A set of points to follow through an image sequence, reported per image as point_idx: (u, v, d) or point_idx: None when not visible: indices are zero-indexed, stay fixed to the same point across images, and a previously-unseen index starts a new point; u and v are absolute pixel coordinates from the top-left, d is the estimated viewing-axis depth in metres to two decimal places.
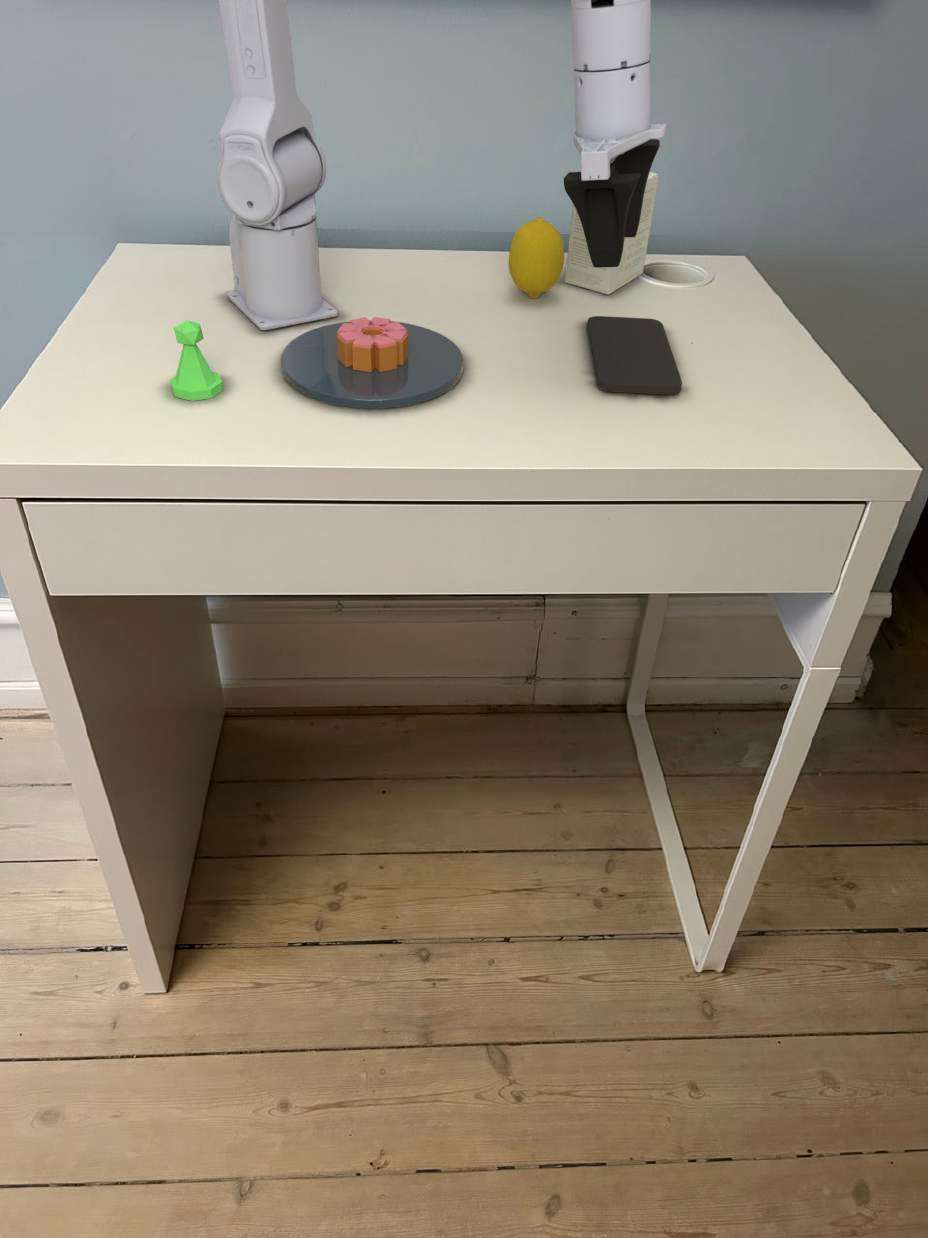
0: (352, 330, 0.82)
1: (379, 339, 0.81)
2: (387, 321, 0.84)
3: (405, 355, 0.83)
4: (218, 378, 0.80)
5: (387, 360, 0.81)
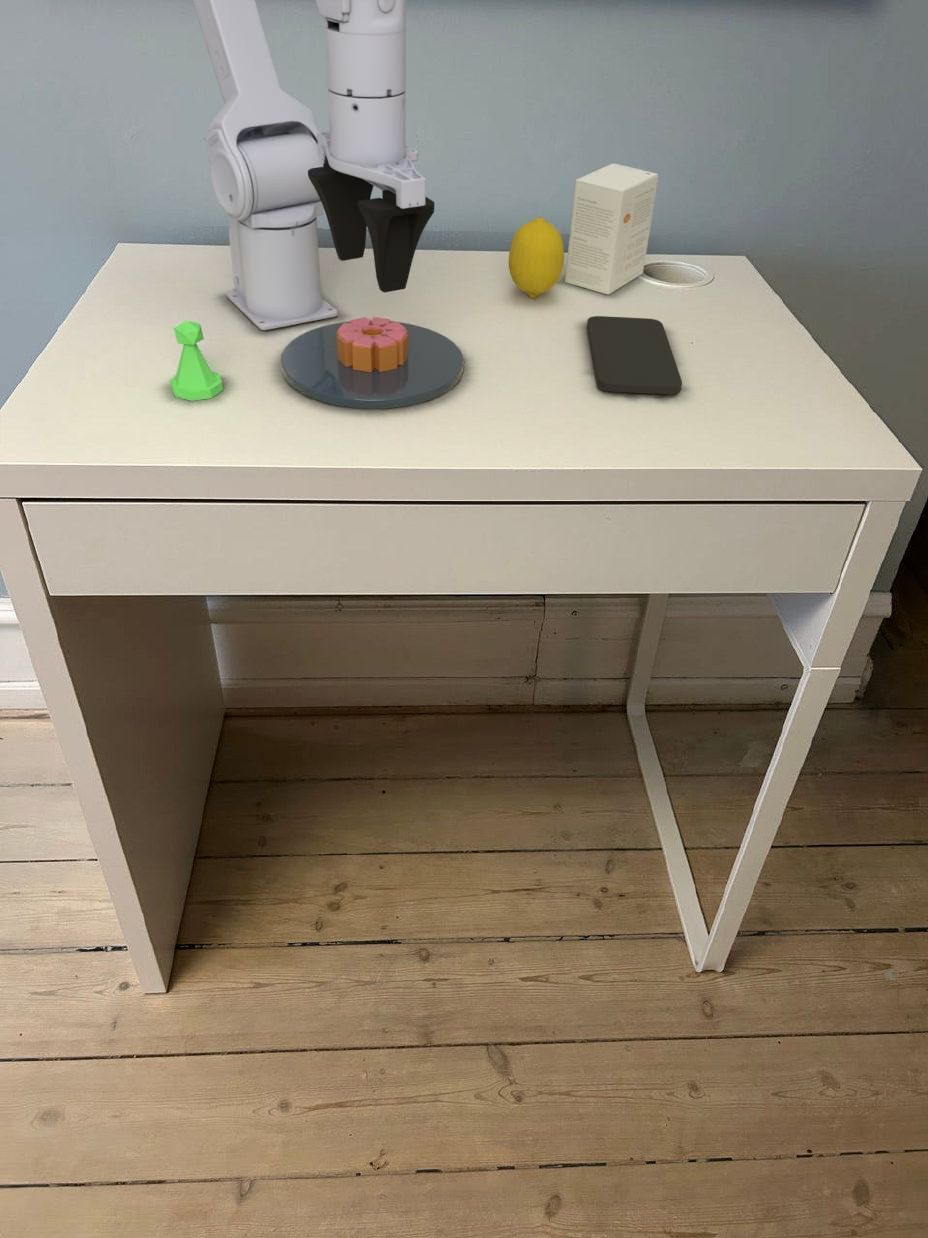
0: (352, 330, 0.82)
1: (379, 339, 0.81)
2: (387, 321, 0.84)
3: (405, 355, 0.83)
4: (218, 378, 0.80)
5: (387, 360, 0.81)
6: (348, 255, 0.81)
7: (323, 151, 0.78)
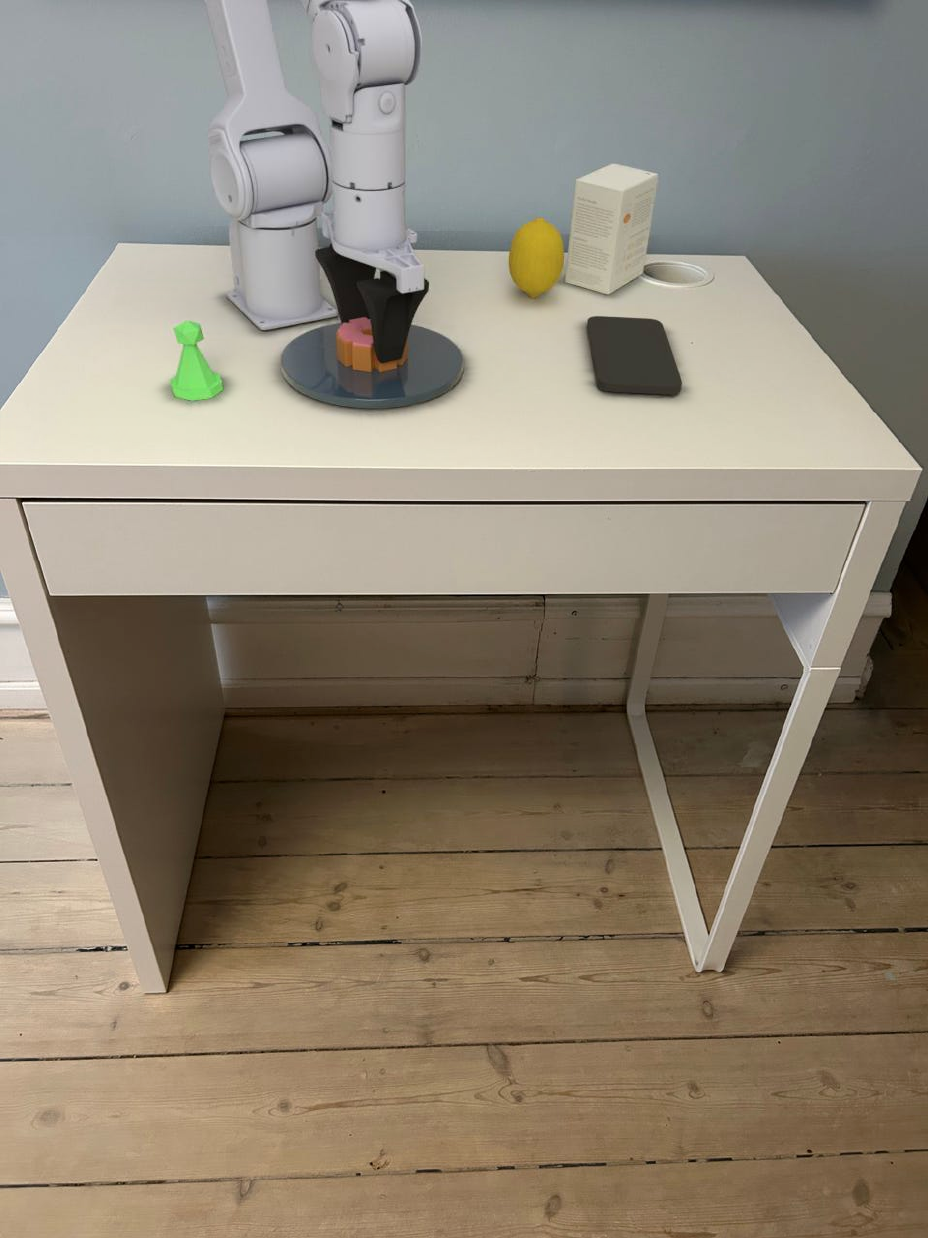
0: (352, 330, 0.82)
1: None
2: None
3: (405, 355, 0.83)
4: (218, 378, 0.80)
5: None
6: None
7: (327, 230, 0.82)
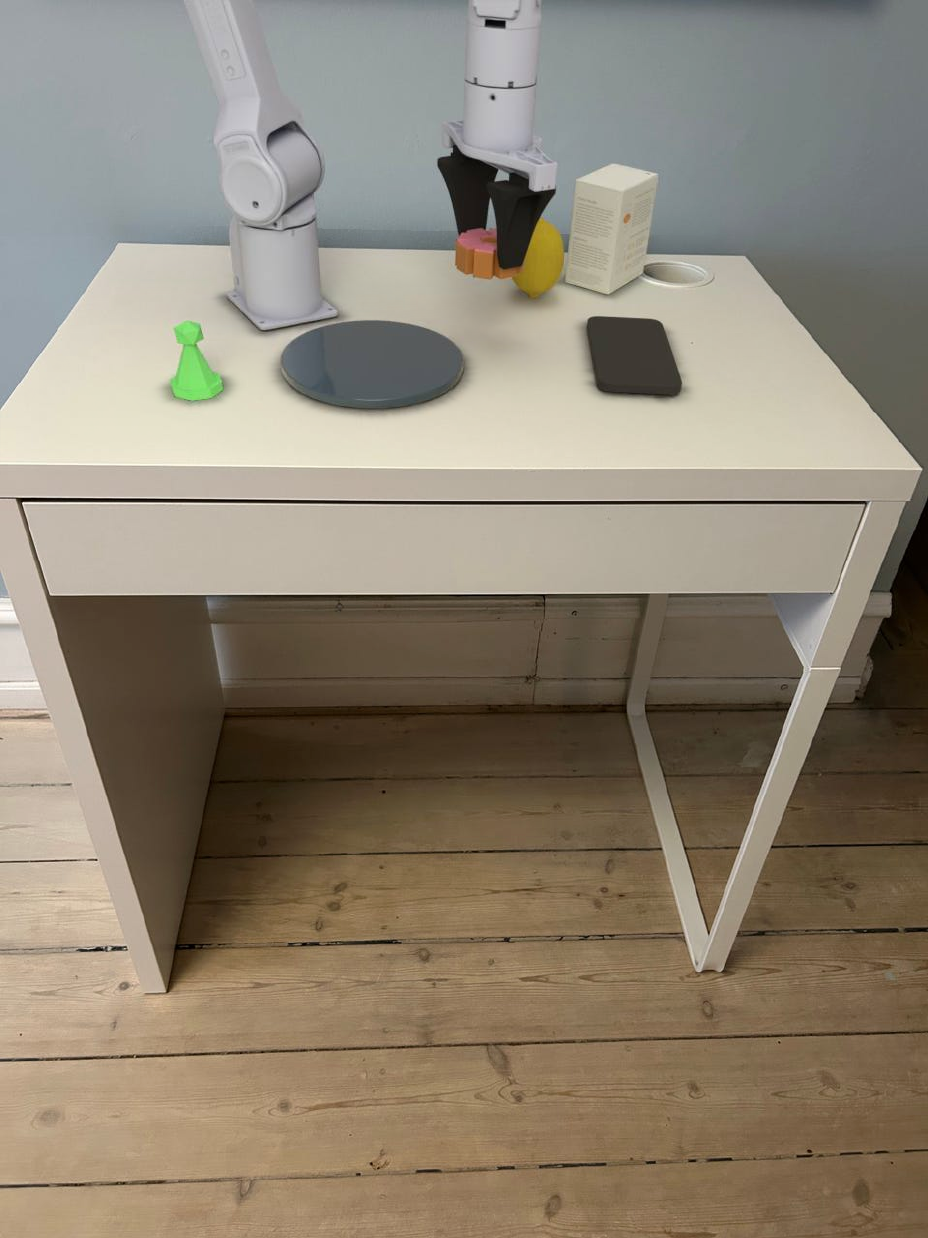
0: (471, 238, 0.83)
1: None
2: None
3: (523, 264, 0.84)
4: (218, 378, 0.80)
5: None
6: None
7: (448, 139, 0.83)
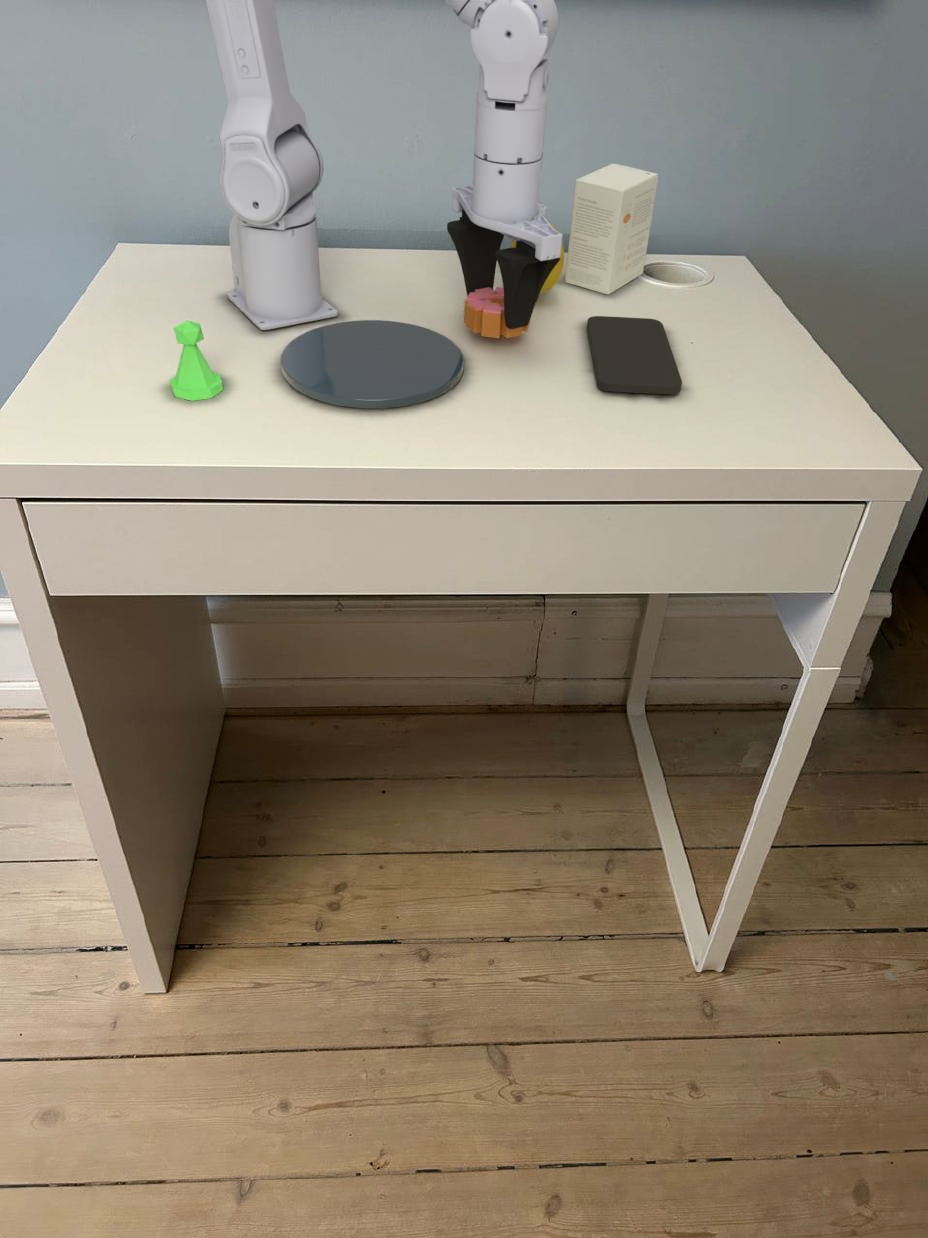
0: (480, 298, 0.87)
1: None
2: None
3: None
4: (218, 378, 0.80)
5: None
6: None
7: (457, 204, 0.87)
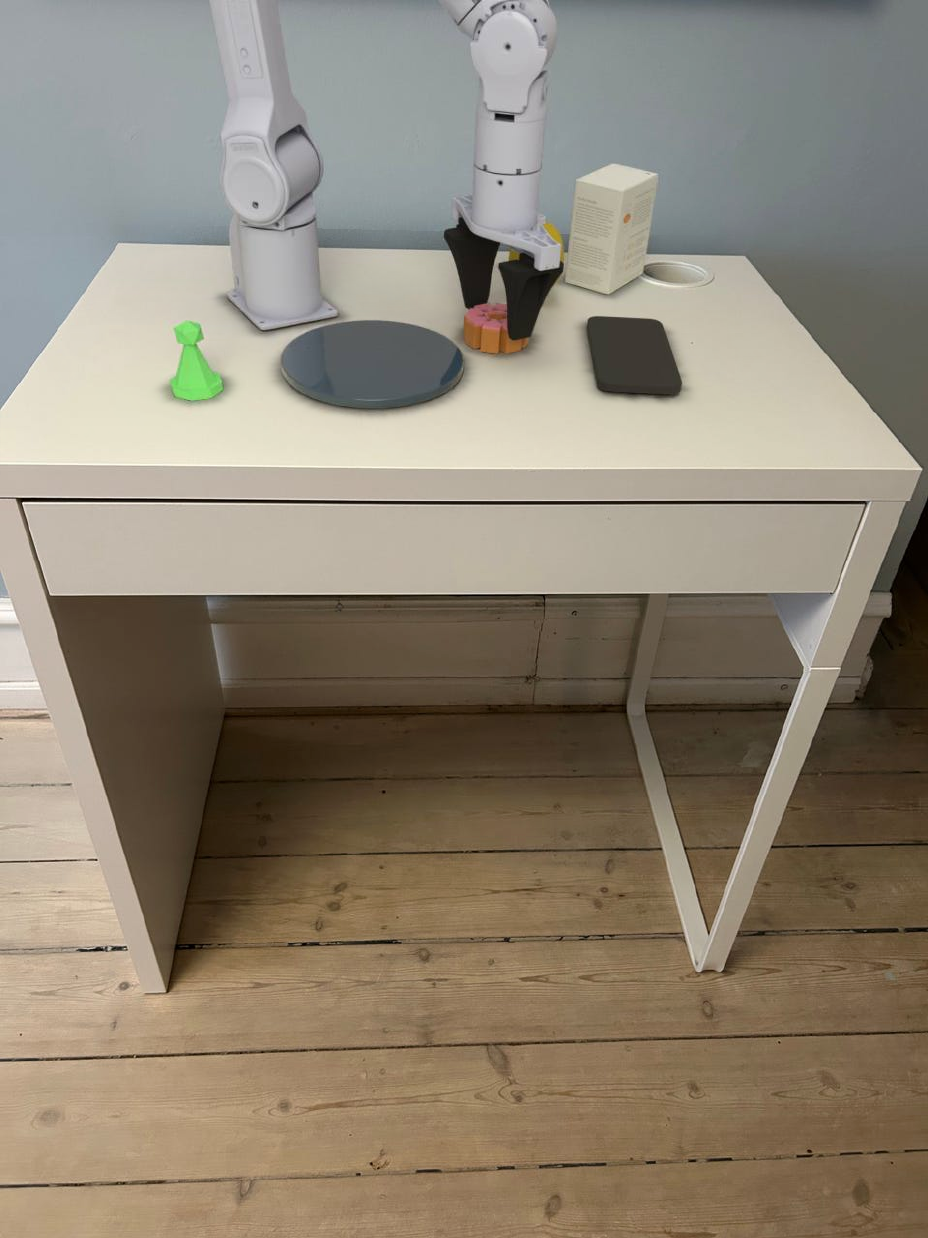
0: (479, 315, 0.88)
1: (506, 323, 0.87)
2: None
3: (527, 338, 0.89)
4: (218, 378, 0.80)
5: (513, 342, 0.87)
6: (474, 304, 0.91)
7: (457, 214, 0.87)
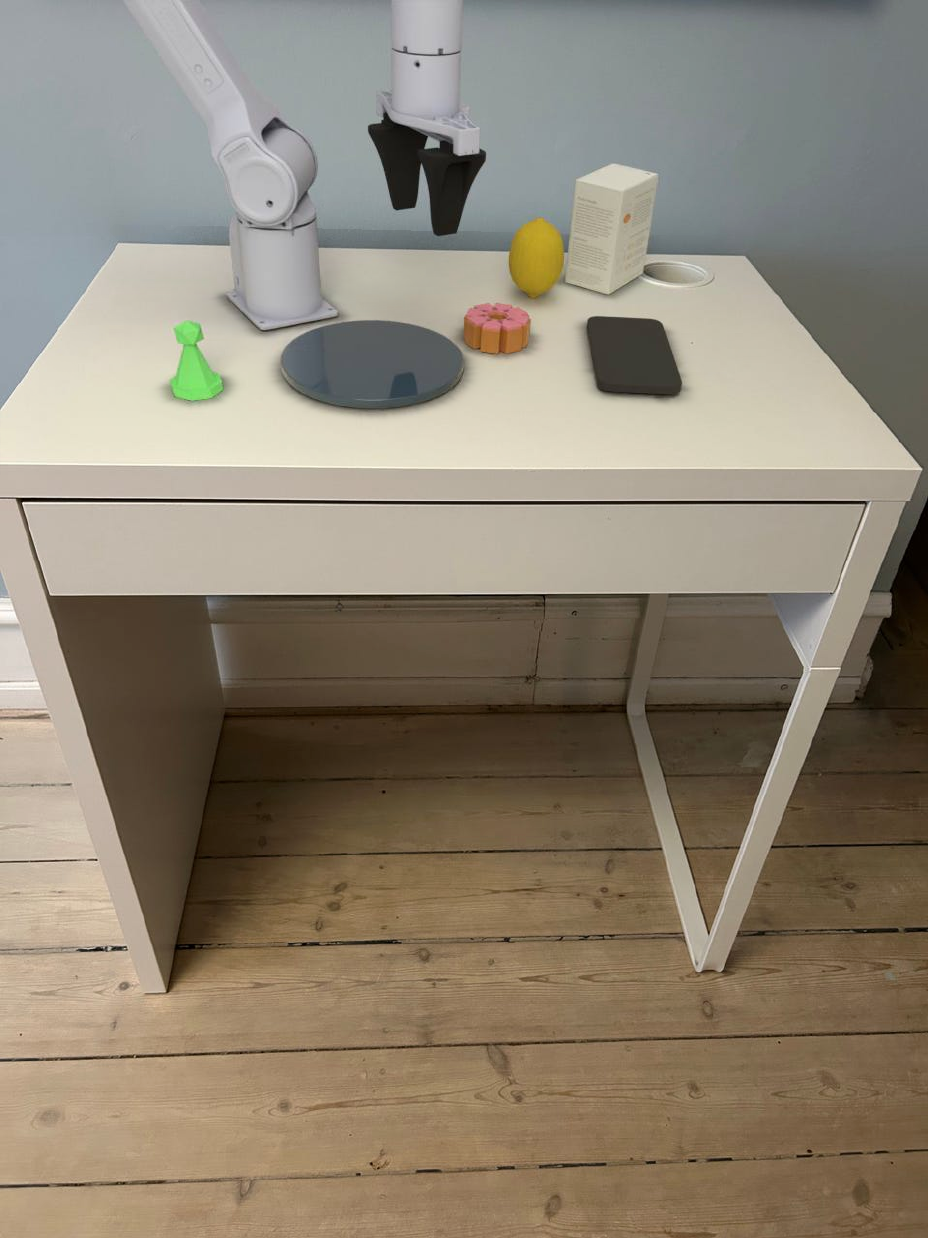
0: (479, 315, 0.88)
1: (506, 323, 0.87)
2: (509, 307, 0.90)
3: (527, 338, 0.89)
4: (218, 378, 0.80)
5: (513, 342, 0.87)
6: (402, 205, 0.89)
7: (381, 108, 0.85)
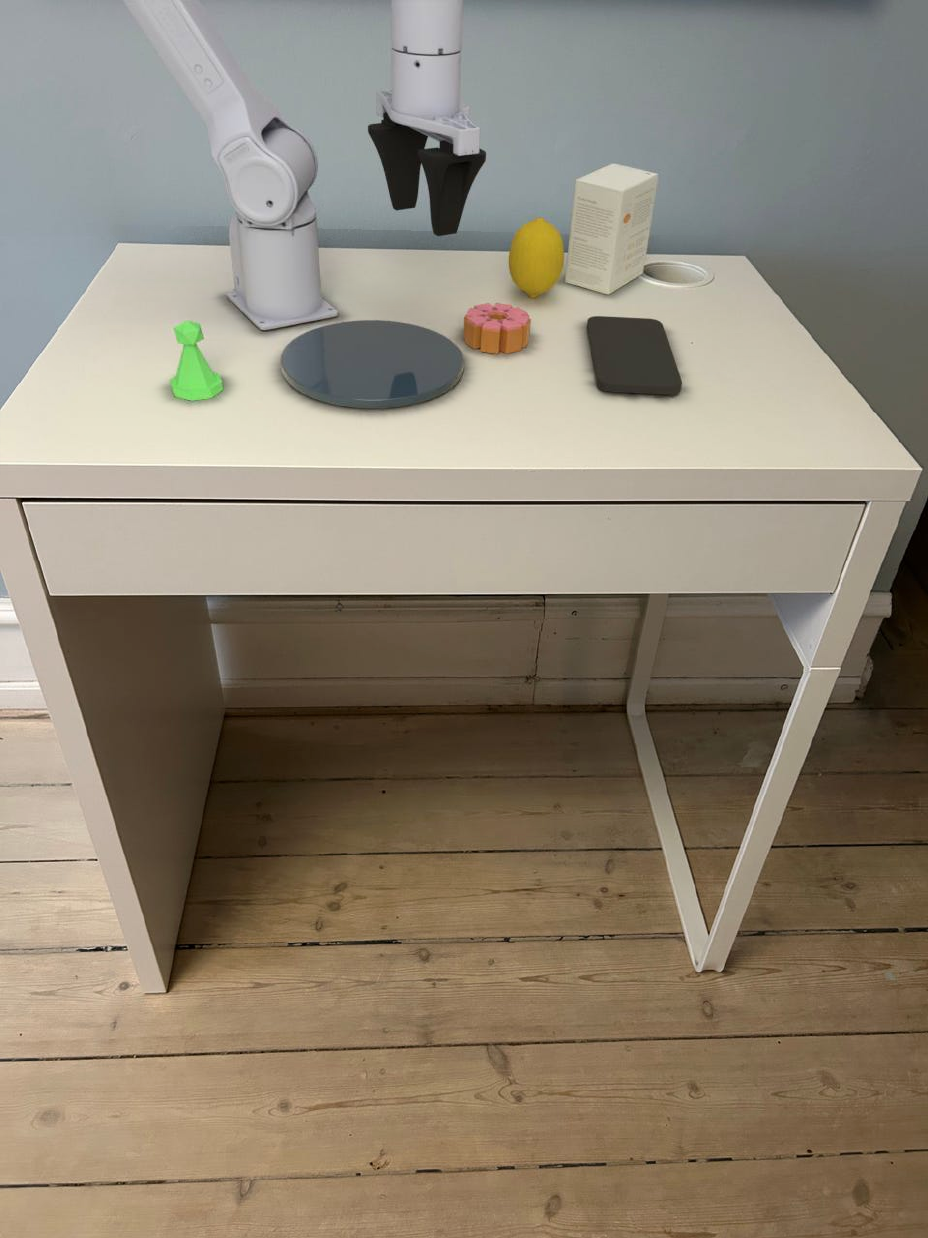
0: (479, 315, 0.88)
1: (506, 323, 0.87)
2: (509, 307, 0.90)
3: (527, 338, 0.89)
4: (218, 378, 0.80)
5: (513, 342, 0.87)
6: (402, 205, 0.89)
7: (381, 108, 0.85)
